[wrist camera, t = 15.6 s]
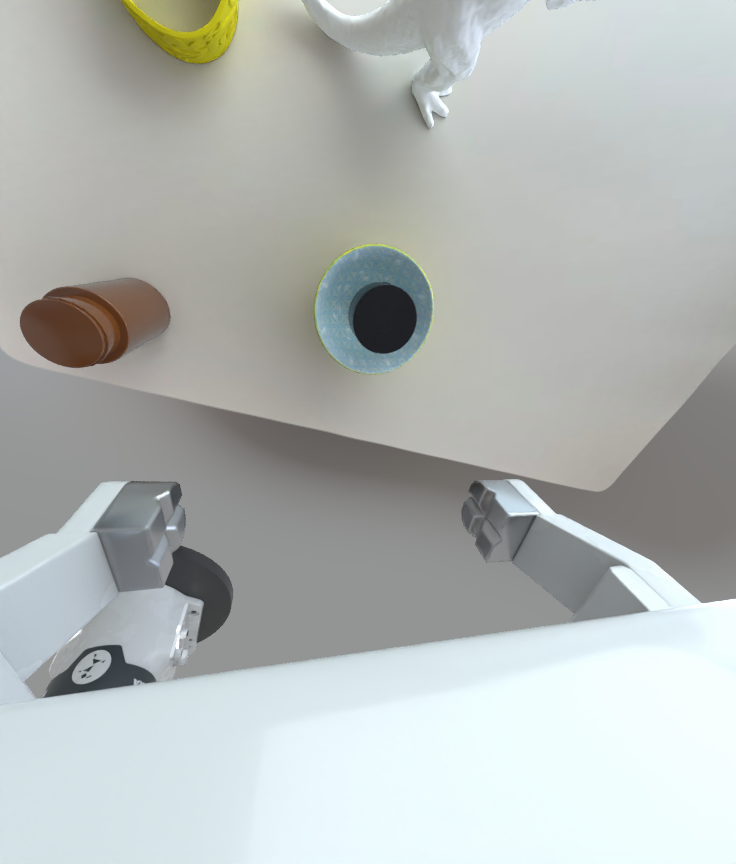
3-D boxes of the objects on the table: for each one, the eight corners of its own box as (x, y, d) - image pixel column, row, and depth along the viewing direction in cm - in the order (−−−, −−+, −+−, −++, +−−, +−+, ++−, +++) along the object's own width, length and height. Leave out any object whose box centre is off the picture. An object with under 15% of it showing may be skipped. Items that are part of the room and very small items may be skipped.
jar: (173, 340, 32) (120, 377, 22) (112, 334, 31) (26, 371, 21) (165, 282, 30) (101, 296, 20) (98, 273, 28) (-7, 284, 18)
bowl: (392, 224, 31) (412, 218, 26) (426, 331, 37) (447, 344, 32) (290, 276, 31) (289, 280, 26) (340, 374, 37) (347, 393, 32)
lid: (352, 276, 27) (357, 278, 24) (413, 286, 28) (423, 288, 26) (344, 343, 29) (349, 350, 27) (400, 348, 31) (409, 356, 28)
